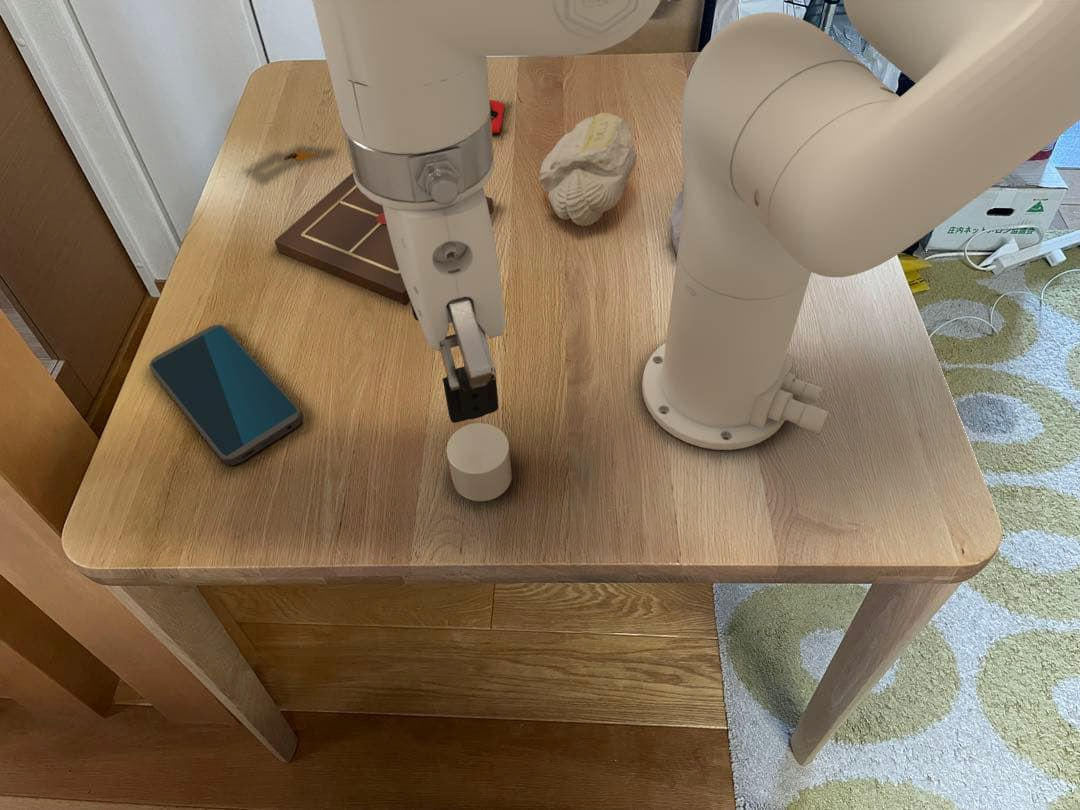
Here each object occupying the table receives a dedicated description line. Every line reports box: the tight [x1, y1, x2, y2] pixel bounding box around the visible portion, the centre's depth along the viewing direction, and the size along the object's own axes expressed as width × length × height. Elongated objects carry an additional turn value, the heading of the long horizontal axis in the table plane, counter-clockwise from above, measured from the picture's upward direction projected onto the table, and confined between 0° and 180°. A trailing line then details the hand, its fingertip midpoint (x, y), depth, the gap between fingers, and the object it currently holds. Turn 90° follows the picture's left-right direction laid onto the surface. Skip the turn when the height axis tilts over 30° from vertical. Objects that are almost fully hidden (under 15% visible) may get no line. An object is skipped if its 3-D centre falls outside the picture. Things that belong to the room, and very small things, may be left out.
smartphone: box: [149, 324, 304, 466], centre depth 72 cm, size 8×15×1 cm, turn 42°
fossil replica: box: [538, 112, 638, 227], centre depth 84 cm, size 12×8×10 cm
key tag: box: [283, 150, 317, 162], centre depth 93 cm, size 8×3×1 cm, turn 124°
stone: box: [446, 422, 513, 502], centre depth 64 cm, size 5×5×4 cm
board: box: [274, 171, 495, 305], centre depth 85 cm, size 16×16×2 cm
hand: (454, 361), depth 56 cm, fingers open, 9 cm apart
